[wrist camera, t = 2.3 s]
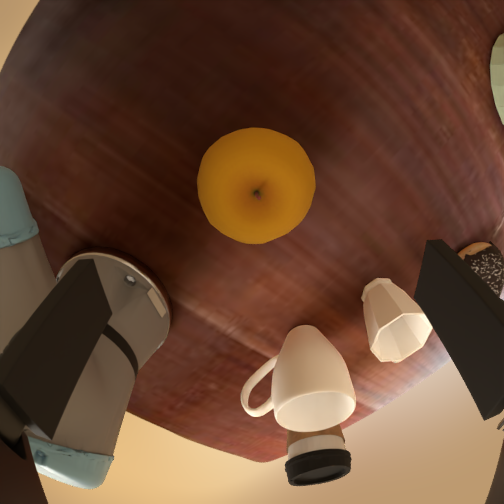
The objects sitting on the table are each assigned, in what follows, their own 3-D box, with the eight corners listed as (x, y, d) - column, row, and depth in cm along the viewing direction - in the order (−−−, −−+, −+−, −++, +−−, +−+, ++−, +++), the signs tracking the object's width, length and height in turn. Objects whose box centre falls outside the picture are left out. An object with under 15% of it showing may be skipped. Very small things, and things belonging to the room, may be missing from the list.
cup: (403, 259, 31) (435, 301, 24) (404, 322, 36) (428, 365, 29) (346, 277, 32) (368, 325, 25) (356, 338, 37) (372, 386, 30)
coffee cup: (285, 371, 40) (294, 469, 26) (342, 373, 40) (364, 463, 27) (274, 404, 43) (279, 489, 30) (325, 404, 44) (340, 485, 31)
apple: (270, 232, 30) (277, 284, 22) (188, 189, 28) (163, 226, 20) (322, 155, 26) (351, 180, 18) (236, 104, 24) (228, 104, 16)
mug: (329, 303, 34) (353, 380, 24) (340, 349, 38) (359, 420, 28) (231, 329, 36) (225, 408, 26) (253, 371, 40) (253, 443, 29)
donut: (503, 269, 32) (518, 284, 29) (448, 325, 37) (460, 343, 33) (479, 221, 29) (497, 236, 26) (415, 288, 33) (429, 308, 30)
